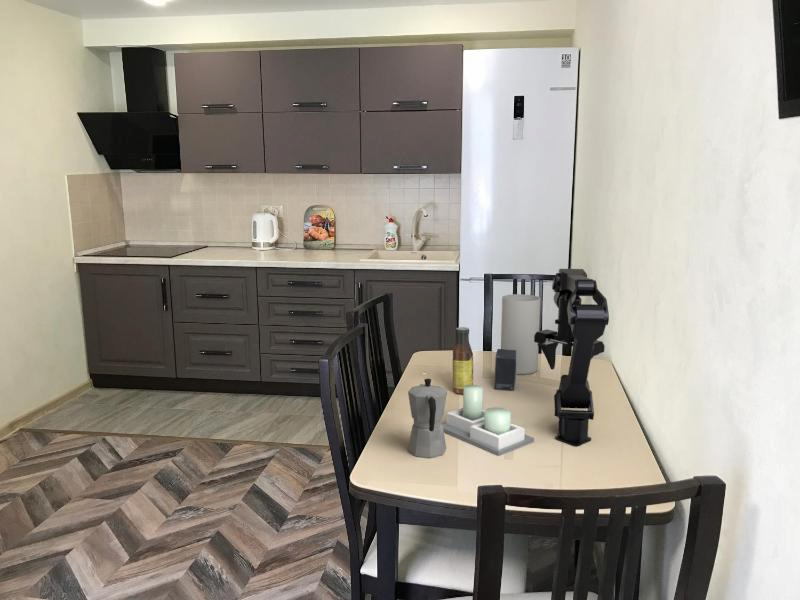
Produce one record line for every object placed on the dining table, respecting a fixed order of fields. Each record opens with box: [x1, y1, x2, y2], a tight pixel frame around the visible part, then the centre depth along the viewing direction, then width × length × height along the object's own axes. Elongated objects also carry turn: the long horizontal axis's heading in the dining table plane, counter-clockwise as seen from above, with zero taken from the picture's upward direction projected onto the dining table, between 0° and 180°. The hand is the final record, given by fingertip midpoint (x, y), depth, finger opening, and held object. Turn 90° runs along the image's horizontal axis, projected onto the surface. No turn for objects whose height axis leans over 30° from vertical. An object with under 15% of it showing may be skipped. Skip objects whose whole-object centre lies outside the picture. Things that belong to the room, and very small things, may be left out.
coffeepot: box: [407, 378, 448, 459], centre depth 154 cm, size 15×9×18 cm, turn 6°
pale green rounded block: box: [462, 384, 484, 421], centre depth 169 cm, size 5×5×10 cm
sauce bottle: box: [452, 326, 474, 395], centre depth 197 cm, size 6×6×20 cm
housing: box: [442, 406, 535, 457], centre depth 165 cm, size 21×13×8 cm, turn 40°
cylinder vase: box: [500, 293, 541, 376], centre depth 219 cm, size 12×12×25 cm
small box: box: [493, 348, 517, 391], centre depth 205 cm, size 11×6×10 cm, turn 168°
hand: (566, 373), depth 174 cm, fingers open, 9 cm apart
